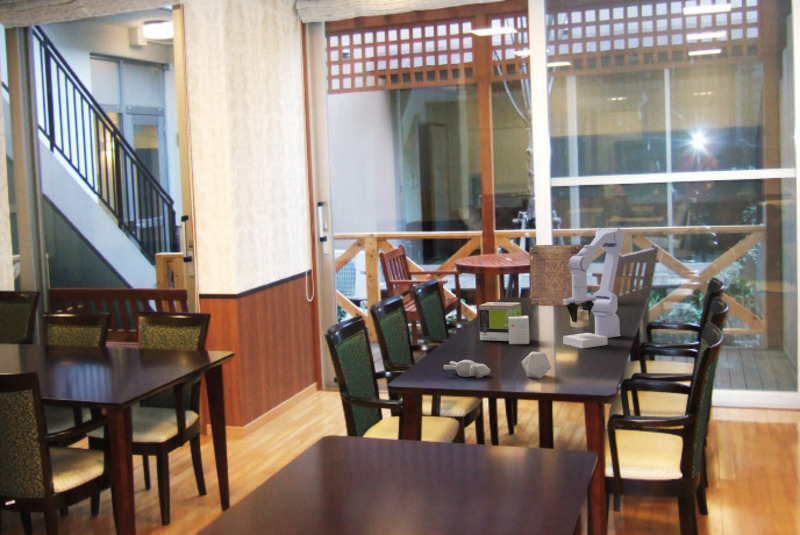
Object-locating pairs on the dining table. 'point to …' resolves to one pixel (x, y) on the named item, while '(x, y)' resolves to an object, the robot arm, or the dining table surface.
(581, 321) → the maple block
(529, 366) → the die
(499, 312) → the tea box
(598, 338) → the white square slab
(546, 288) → the book
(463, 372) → the bunny figurine
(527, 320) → the small box
